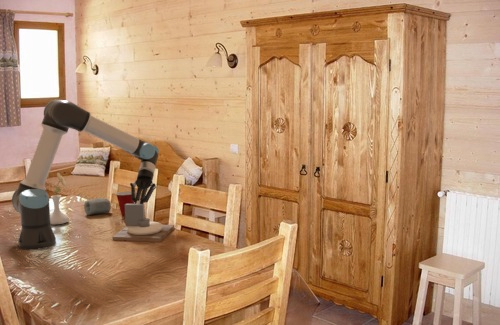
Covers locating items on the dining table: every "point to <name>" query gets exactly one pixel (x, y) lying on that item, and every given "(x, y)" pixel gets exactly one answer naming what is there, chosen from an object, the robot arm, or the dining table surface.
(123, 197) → the plastic cup
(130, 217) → the dial
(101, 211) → the rolled towel
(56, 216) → the flower in vase
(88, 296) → the dining table surface
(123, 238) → the dial plate
